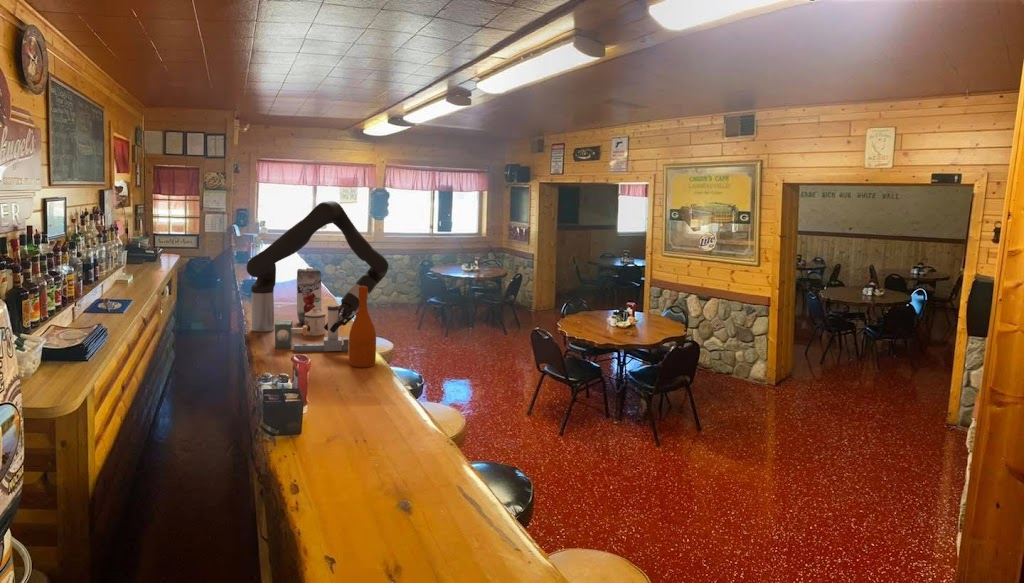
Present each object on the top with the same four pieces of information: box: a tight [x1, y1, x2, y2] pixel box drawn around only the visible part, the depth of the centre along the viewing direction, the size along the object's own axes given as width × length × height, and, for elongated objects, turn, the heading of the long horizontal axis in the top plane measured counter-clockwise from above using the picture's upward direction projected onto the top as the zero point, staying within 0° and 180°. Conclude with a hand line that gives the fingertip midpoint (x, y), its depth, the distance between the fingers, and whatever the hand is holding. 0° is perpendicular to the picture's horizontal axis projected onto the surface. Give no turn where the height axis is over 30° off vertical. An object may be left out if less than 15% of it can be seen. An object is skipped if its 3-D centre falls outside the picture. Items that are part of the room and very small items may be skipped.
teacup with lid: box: [304, 308, 326, 337], centre depth 284 cm, size 12×9×12 cm
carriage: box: [323, 305, 343, 352], centre depth 259 cm, size 6×7×18 cm
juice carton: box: [296, 266, 322, 326], centre depth 304 cm, size 9×10×27 cm
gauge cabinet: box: [274, 319, 294, 350], centre depth 262 cm, size 8×6×10 cm
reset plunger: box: [291, 325, 308, 336], centre depth 263 cm, size 3×9×3 cm, turn 104°
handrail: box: [293, 336, 349, 353], centre depth 259 cm, size 5×21×5 cm, turn 104°
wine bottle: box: [348, 286, 377, 369], centre depth 239 cm, size 10×10×30 cm
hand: (328, 330), depth 257 cm, fingers closed on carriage, 4 cm apart
